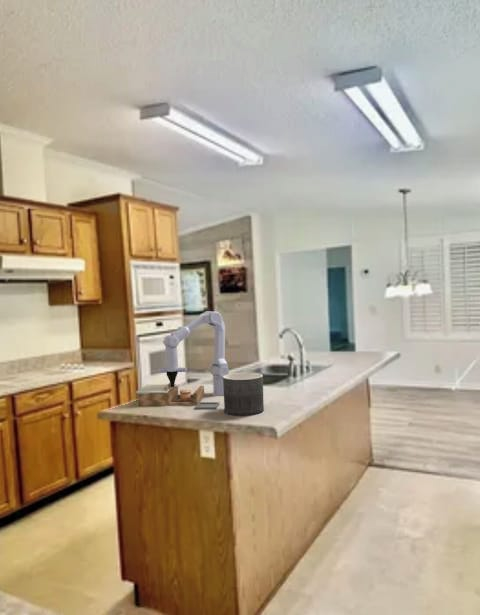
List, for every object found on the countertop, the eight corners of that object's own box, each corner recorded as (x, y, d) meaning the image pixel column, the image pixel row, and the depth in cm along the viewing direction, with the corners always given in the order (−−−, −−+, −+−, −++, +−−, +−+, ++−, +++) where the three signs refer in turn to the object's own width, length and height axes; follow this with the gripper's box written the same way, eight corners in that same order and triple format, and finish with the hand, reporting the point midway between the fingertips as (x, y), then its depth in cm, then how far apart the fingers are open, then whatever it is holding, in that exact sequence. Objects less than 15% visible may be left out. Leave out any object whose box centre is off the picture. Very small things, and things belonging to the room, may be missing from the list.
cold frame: (204, 397, 250) (203, 385, 250) (197, 405, 232) (196, 393, 232) (149, 397, 253) (149, 386, 253) (138, 406, 235) (138, 393, 235)
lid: (175, 385, 252) (175, 380, 252) (166, 393, 233) (166, 388, 233) (147, 385, 253) (146, 381, 253) (135, 393, 235) (135, 388, 235)
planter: (250, 417, 207) (249, 380, 207) (216, 413, 217) (215, 378, 216) (270, 408, 222) (269, 374, 222) (237, 404, 232) (236, 371, 231)
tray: (219, 404, 233) (219, 402, 233) (216, 409, 223) (216, 407, 223) (198, 404, 234) (198, 402, 234) (194, 409, 224) (194, 407, 224)
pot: (192, 399, 244) (191, 389, 244) (189, 402, 239) (189, 392, 239) (181, 399, 245) (181, 389, 245) (179, 402, 239) (178, 392, 239)
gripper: (187, 357, 246) (188, 384, 246) (158, 358, 246) (159, 385, 246) (185, 359, 239) (186, 387, 239) (156, 360, 239) (157, 388, 239)
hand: (172, 386), depth 242 cm, fingers closed
